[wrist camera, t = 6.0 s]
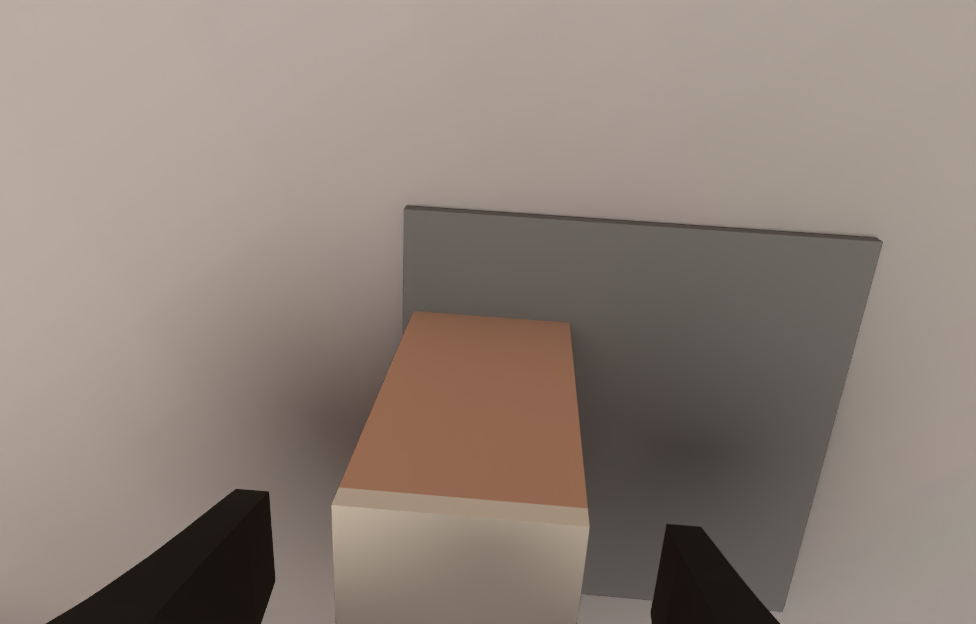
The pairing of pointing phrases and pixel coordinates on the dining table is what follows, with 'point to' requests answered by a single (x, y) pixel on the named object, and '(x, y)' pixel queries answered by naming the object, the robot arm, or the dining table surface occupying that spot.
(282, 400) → the dining table surface
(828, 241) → the mat
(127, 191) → the dining table surface
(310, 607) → the dining table surface
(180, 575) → the robot arm
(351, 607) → the block
